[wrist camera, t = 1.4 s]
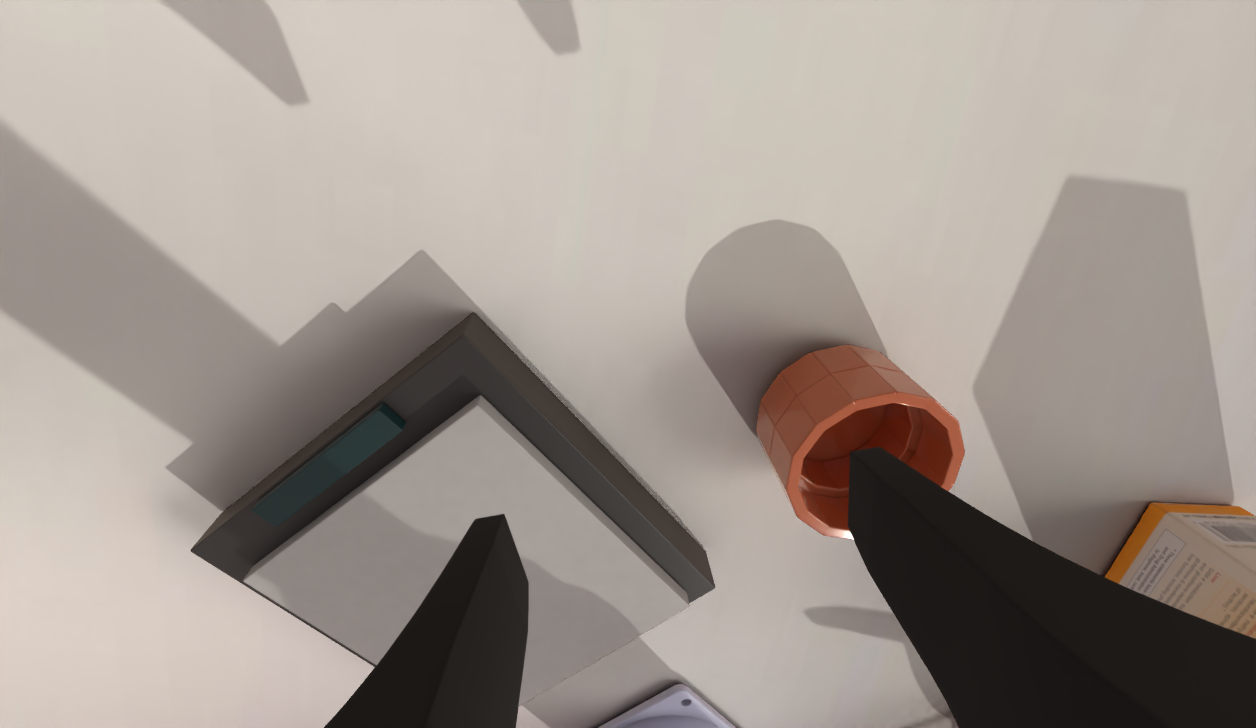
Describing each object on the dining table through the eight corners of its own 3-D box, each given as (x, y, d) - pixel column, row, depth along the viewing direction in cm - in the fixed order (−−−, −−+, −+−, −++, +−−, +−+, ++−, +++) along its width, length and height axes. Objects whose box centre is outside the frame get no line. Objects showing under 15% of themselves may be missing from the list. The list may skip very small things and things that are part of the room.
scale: (706, 551, 24) (720, 602, 22) (481, 687, 27) (471, 746, 24) (474, 310, 19) (458, 343, 16) (221, 512, 21) (175, 566, 19)
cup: (923, 414, 22) (991, 478, 18) (796, 491, 23) (836, 566, 19) (860, 308, 20) (922, 356, 16) (723, 399, 21) (753, 463, 17)
